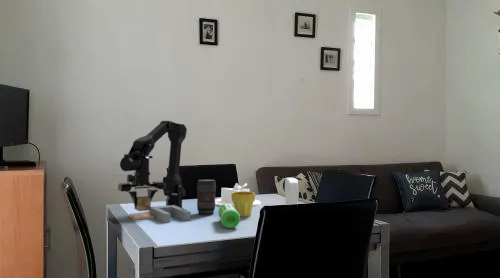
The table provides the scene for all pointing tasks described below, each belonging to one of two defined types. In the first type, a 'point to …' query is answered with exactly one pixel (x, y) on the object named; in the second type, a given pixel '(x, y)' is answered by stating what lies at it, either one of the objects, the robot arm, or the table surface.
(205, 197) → the camera lens
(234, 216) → the speaker
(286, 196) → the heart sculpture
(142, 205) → the walnut block
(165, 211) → the pocket board
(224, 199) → the dish
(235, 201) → the plant pot
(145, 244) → the table surface
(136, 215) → the terracotta tile
